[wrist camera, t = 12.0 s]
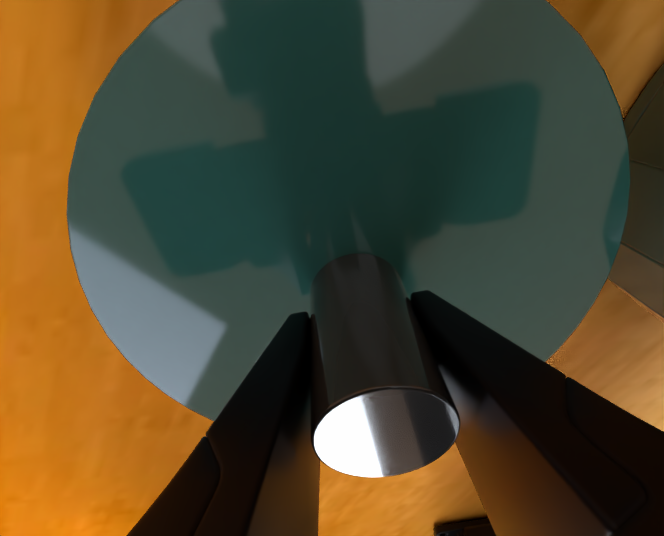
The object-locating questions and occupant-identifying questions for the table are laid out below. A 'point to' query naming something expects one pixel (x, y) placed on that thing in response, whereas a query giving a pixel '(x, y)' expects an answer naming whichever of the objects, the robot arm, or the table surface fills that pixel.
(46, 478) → the table surface
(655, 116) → the tin
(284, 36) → the lid
